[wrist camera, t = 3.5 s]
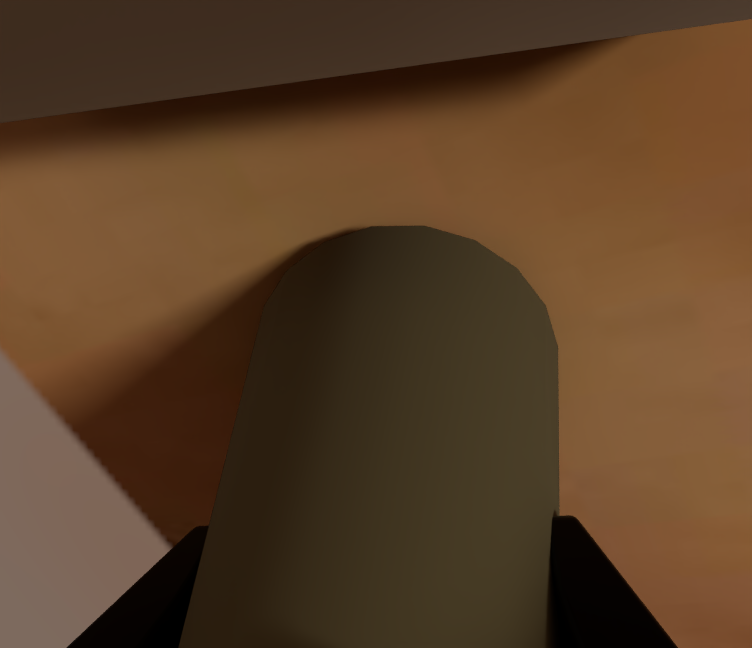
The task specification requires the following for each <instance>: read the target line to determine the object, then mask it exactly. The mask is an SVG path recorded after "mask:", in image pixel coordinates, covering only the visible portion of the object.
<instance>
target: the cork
mask: <svg viewBox="0 0 752 648" xmlns="http://www.w3.org/2000/svg"><path fill="white" fill-rule="evenodd" d="M553 516H559V407H558V345H557V342H556V339H555V335H554V332H553V329H552V325H551V322H550V318H549V315H548V312H547V308H546V305H545V304H544V303H543V301H542V300H541V299H540V298H539V296H538V295H537V294H536V292H535V291H534V290H533V288H532V287H531V286H530V284H529V283H528V282H527V280H526V279H525V278H524V277H523V275H522V274H521V273H520V271H519V270H518V269H517V268H516V267H514V266H513V265H511V264H510V263H508V262H507V261H505V260H504V259H502V258H501V257H499V256H498V255H496V254H495V253H493V252H492V251H490V250H489V249H487V248H486V247H484V246H483V245H481V244H480V243H478V242H477V241H475V240H472V239H469V238H465V237H462V236H459V235H455V234H452V233H448V232H445V231H441V230H438V229H434V228H431V227H427V226H374V227H369V228H366V229H363V230H360V231H357V232H354V233H351V234H348V235H345V236H342V237H339V238H336V239H333V240H330V241H327V242H324V243H322V244H321V245H320V246H319V247H317V248H316V249H315V250H313V251H312V252H311V253H309V254H308V255H307V256H305V257H304V258H303V259H301V260H300V261H299V262H297V263H296V264H295V265H293V266H292V267H291V268H289V269H288V270H287V271H286V273H285V274H284V276H283V277H282V279H281V280H280V282H279V284H278V285H277V287H276V288H275V290H274V291H273V293H272V294H271V296H270V298H269V299H268V301H267V302H266V304H265V305H264V308H263V312H262V316H261V320H260V324H259V328H258V332H257V336H256V340H255V344H254V348H253V352H252V356H251V360H250V364H249V368H248V372H247V376H246V380H245V384H244V388H243V392H242V396H241V400H240V404H239V408H238V412H237V416H236V420H235V424H234V428H233V432H232V436H231V440H230V444H229V448H228V452H227V456H226V460H225V464H224V468H223V472H222V476H221V480H220V484H219V488H218V492H217V496H216V500H215V504H214V508H213V512H212V516H211V520H210V524H209V528H208V532H207V536H206V540H205V544H204V548H203V552H202V556H201V560H200V563H199V567H198V571H197V575H196V579H195V583H194V587H193V591H192V595H191V599H190V603H189V607H188V611H187V615H186V619H185V623H184V627H183V631H182V635H181V639H180V643H179V647H178V648H560V627H559V621H558V614H557V606H556V598H555V590H554V581H553V572H552V564H551V527H552V518H553Z"/></svg>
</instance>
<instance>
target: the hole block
mask: <svg viewBox="0 0 752 648" xmlns="http://www.w3.org/2000/svg"><path fill="white" fill-rule="evenodd" d="M747 19H752V0H0V123H4V122H11V121H18V120H26V119H33V118H40V117H47V116H55V115H62V114H69V113H76V112H83V111H91V110H98V109H105V108H112V107H119V106H127V105H134V104H141V103H148V102H156V101H163V100H170V99H177V98H184V97H192V96H199V95H206V94H213V93H220V92H228V91H235V90H242V89H249V88H257V87H264V86H271V85H278V84H285V83H293V82H300V81H307V80H314V79H322V78H329V77H336V76H343V75H350V74H358V73H365V72H372V71H379V70H386V69H394V68H401V67H408V66H415V65H423V64H430V63H437V62H444V61H451V60H459V59H466V58H473V57H480V56H487V55H495V54H502V53H509V52H516V51H524V50H531V49H538V48H545V47H552V46H560V45H567V44H574V43H581V42H588V41H596V40H603V39H610V38H617V37H625V36H632V35H639V34H646V33H653V32H661V31H668V30H675V29H682V28H689V27H697V26H704V25H711V24H718V23H726V22H733V21H740V20H747Z"/></svg>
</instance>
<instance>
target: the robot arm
mask: <svg viewBox="0 0 752 648" xmlns="http://www.w3.org/2000/svg"><path fill="white" fill-rule="evenodd" d="M208 528H209V526H198V527H196V528H194V529H193V530H191V531H190V532H189V533H188V534H187V535H186V536H185V537H184V538H183V539H182V540H181V541H180V542H179V543H177V544H176V545H175V546H174V547H173V548H172V549H171V550H170V551H169V552H168V553H167V554H166V555H165V556H164V557H163V558H162V559H160V560H159V562H157V563H156V564H155V565H154V566H153V567H152V568H151V569H150V570H149V571H148V572H147V573H146V574H144V575H143V576H142V577H141V578H140V579H139V580H138V581H137V582H136V583H135V584H134V585H133V586H132V587H131V588H130V589H129V590H127V591H126V592H125V593H124V594H123V595H122V596H121V597H120V598H119V599H118V600H117V601H116V602H115V603H114V604H113V605H112V606H110V607H109V608H108V609H107V610H106V611H105V612H104V613H103V614H102V615H101V616H100V617H99V618H98V619H97V620H96V621H94V622H93V623H92V624H91V625H90V626H89V627H88V628H87V629H86V630H85V631H84V632H83V633H82V634H81V635H80V636H79V637H77V638H76V639H75V640H74V641H73V642H72V643H71V644H70V645H69V646H68V647H67V648H178V647H179V643H180V639H181V635H182V631H183V627H184V623H185V619H186V615H187V611H188V607H189V603H190V599H191V595H192V591H193V587H194V583H195V579H196V575H197V571H198V567H199V563H200V560H201V556H202V552H203V548H204V544H205V540H206V536H207V532H208ZM551 564H552V572H553V581H554V590H555V598H556V606H557V614H558V621H559V627H560V648H678V647H677V646H676V645H675V643H674V642H673V641H672V639H671V638H670V637H669V636H668V634H667V633H666V632H665V630H664V629H663V628H662V627H661V625H660V624H659V623H658V621H657V620H656V619H655V618H654V616H653V615H652V614H651V612H650V611H649V610H648V609H647V607H646V606H645V605H644V604H643V602H642V601H641V600H640V598H639V597H638V596H637V595H636V593H635V592H634V591H633V589H632V588H631V587H630V586H629V584H628V583H627V582H626V580H625V579H624V578H623V577H622V575H621V574H620V573H619V572H618V570H617V569H616V568H615V566H614V565H613V564H612V563H611V561H610V560H609V559H608V557H607V556H606V555H605V554H604V552H603V551H602V550H601V548H600V547H599V546H598V545H597V543H596V542H595V541H594V539H593V538H592V537H591V536H590V534H589V533H588V532H587V531H586V529H585V528H584V527H583V525H582V524H581V523H580V522H579V520H578V519H577V518H576V517H574V516H553V518H552V527H551Z"/></svg>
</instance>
